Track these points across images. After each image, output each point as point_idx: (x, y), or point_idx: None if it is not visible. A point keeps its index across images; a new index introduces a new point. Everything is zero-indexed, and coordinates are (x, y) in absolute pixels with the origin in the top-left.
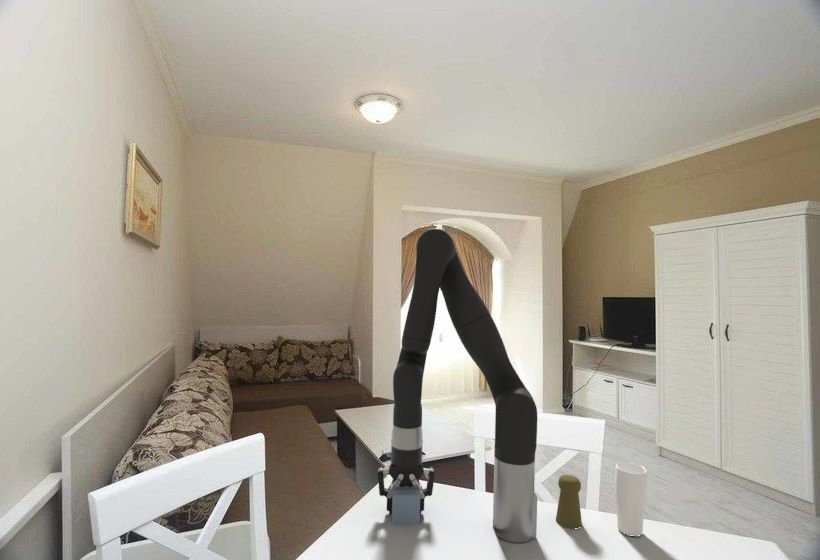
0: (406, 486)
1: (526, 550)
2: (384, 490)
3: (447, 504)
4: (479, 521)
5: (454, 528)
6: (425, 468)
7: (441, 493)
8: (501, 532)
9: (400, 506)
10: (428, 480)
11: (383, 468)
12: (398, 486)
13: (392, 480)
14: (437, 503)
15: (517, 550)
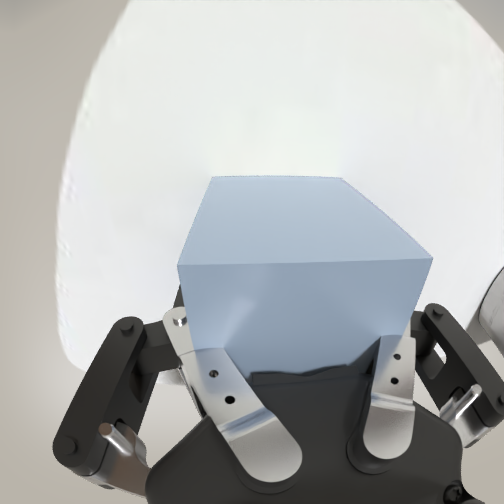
0: (305, 376)
1: (483, 338)
2: (153, 371)
3: (459, 144)
4: (487, 256)
5: (424, 293)
6: (468, 443)
7: (452, 52)
8: (485, 328)
9: None
10: (443, 397)
11: (102, 481)
12: (245, 379)
13: (189, 379)
14: (432, 128)
15: (474, 341)
